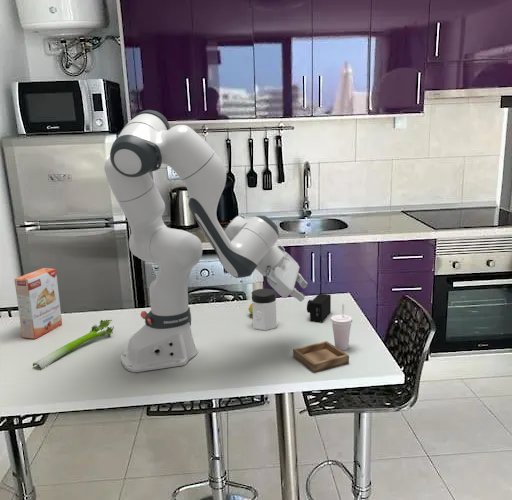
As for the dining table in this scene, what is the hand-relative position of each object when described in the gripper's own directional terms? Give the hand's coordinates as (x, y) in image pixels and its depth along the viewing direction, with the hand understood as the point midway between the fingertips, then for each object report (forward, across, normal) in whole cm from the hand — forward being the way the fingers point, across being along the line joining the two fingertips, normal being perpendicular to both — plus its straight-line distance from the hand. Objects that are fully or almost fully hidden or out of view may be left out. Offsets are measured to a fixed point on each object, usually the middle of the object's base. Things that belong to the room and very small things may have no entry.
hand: (304, 292), depth 156 cm
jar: (+3, +17, +25) cm, 30 cm away
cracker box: (-52, +5, +78) cm, 93 cm away
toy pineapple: (+1, +27, +29) cm, 40 cm away
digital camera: (+16, +27, +13) cm, 34 cm away
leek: (-38, -8, +63) cm, 74 cm away
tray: (+16, -8, +9) cm, 20 cm away
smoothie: (+21, +1, +6) cm, 21 cm away
